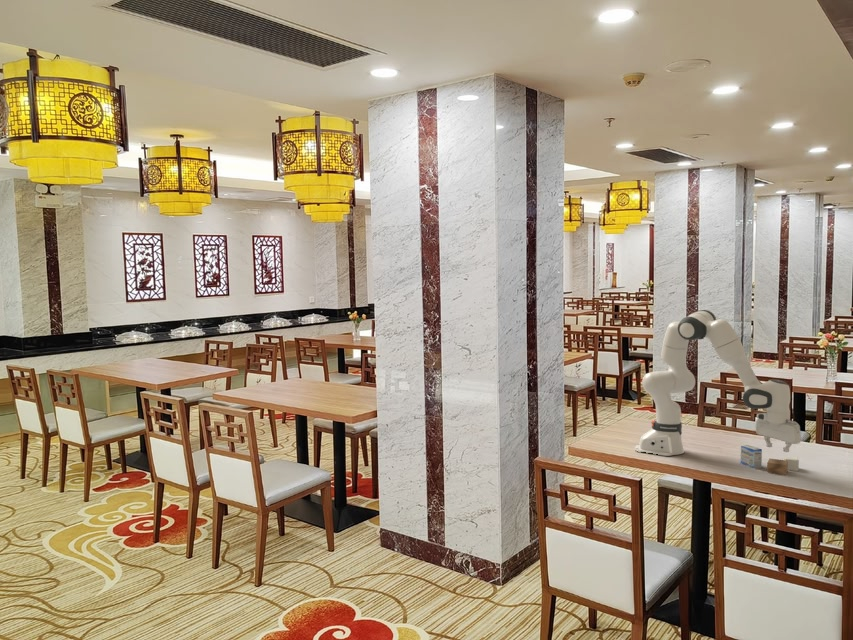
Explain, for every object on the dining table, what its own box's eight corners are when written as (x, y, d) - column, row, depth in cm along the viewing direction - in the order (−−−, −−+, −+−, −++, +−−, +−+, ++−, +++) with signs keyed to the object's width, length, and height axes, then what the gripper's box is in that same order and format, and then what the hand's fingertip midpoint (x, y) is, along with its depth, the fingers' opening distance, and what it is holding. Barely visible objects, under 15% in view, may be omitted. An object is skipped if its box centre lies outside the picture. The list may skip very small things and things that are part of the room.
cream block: (785, 470, 289) (785, 459, 289) (784, 467, 294) (784, 456, 294) (798, 471, 287) (798, 460, 287) (797, 468, 292) (797, 457, 292)
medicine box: (740, 464, 299) (740, 445, 299) (747, 463, 301) (748, 444, 300) (754, 469, 292) (754, 449, 291) (762, 468, 293) (762, 448, 293)
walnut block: (767, 473, 286) (767, 462, 285) (769, 469, 291) (769, 458, 291) (785, 476, 282) (785, 464, 281) (787, 472, 287) (787, 460, 287)
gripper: (805, 421, 276) (804, 454, 277) (764, 412, 295) (763, 443, 296) (793, 423, 274) (793, 456, 275) (753, 413, 293) (753, 444, 294)
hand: (777, 449), depth 286 cm, fingers open, 7 cm apart
